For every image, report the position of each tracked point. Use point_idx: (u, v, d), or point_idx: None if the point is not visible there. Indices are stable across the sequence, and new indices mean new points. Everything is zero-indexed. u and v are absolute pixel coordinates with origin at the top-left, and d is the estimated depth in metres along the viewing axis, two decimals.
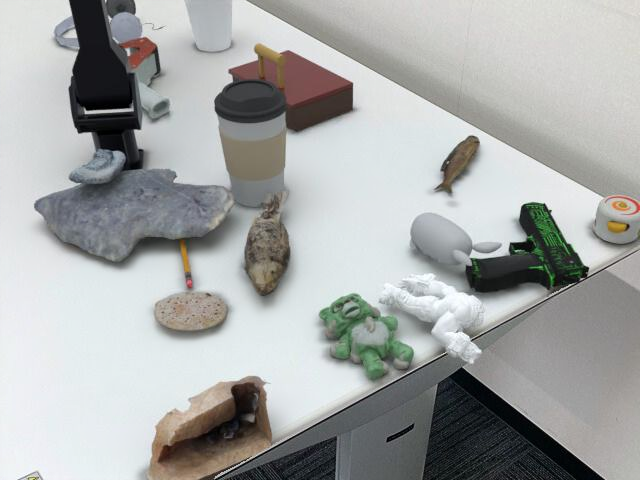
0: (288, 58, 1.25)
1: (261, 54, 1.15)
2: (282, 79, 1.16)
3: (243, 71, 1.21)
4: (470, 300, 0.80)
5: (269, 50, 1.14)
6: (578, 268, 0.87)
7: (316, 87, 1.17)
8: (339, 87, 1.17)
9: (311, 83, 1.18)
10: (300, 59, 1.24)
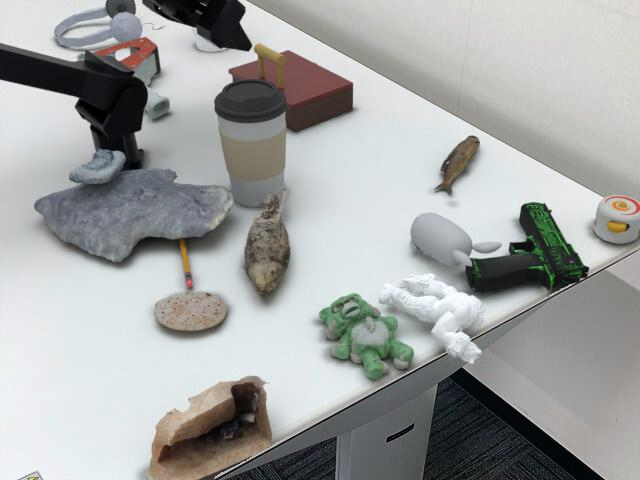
0: (288, 58, 1.25)
1: (261, 54, 1.15)
2: (282, 79, 1.16)
3: (243, 71, 1.21)
4: (470, 300, 0.80)
5: (269, 50, 1.14)
6: (578, 268, 0.87)
7: (316, 87, 1.17)
8: (339, 87, 1.17)
9: (311, 83, 1.18)
10: (300, 59, 1.24)
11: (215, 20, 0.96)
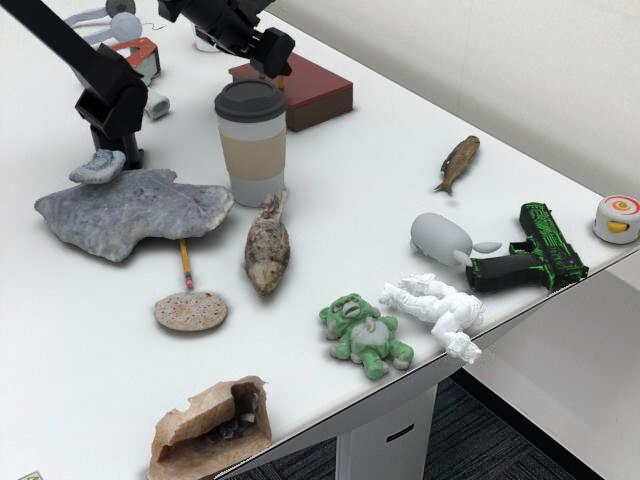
0: (288, 58, 1.25)
1: None
2: (282, 79, 1.16)
3: (243, 71, 1.21)
4: (470, 300, 0.80)
5: None
6: (578, 268, 0.87)
7: (316, 87, 1.17)
8: (339, 87, 1.17)
9: (311, 83, 1.18)
10: (300, 59, 1.24)
11: (268, 54, 1.04)
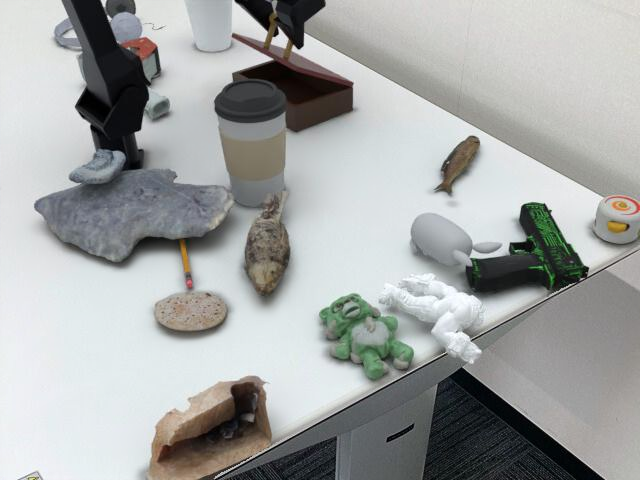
0: None
1: None
2: (290, 49, 1.14)
3: (247, 38, 1.18)
4: (470, 300, 0.80)
5: None
6: (578, 268, 0.87)
7: (319, 70, 1.15)
8: (342, 79, 1.16)
9: (314, 67, 1.16)
10: (301, 56, 1.24)
11: (299, 0, 1.03)
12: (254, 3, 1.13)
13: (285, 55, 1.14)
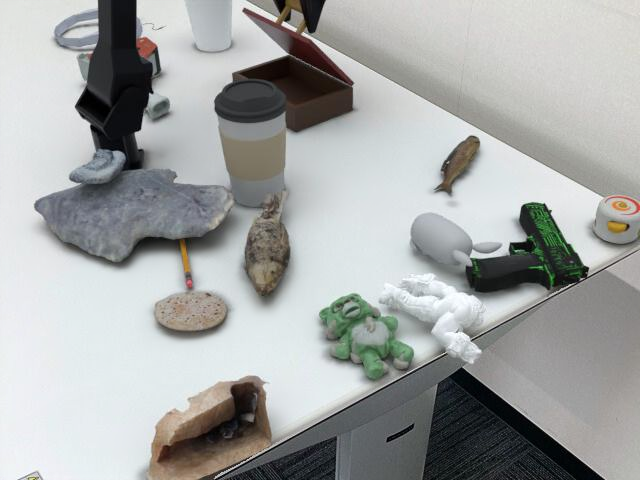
0: None
1: (293, 2, 1.14)
2: (302, 30, 1.13)
3: None
4: (470, 300, 0.80)
5: None
6: (578, 268, 0.87)
7: None
8: None
9: None
10: None
11: None
12: None
13: None
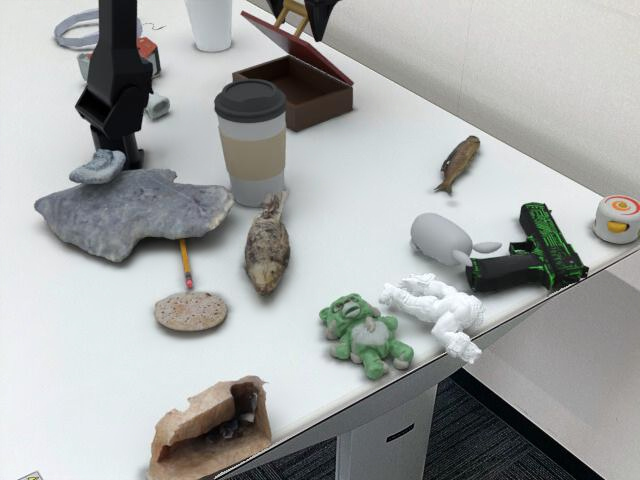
0: None
1: (291, 4, 1.14)
2: (300, 32, 1.13)
3: None
4: (470, 300, 0.80)
5: (302, 4, 1.14)
6: (578, 268, 0.87)
7: None
8: (344, 74, 1.16)
9: None
10: None
11: None
12: None
13: None
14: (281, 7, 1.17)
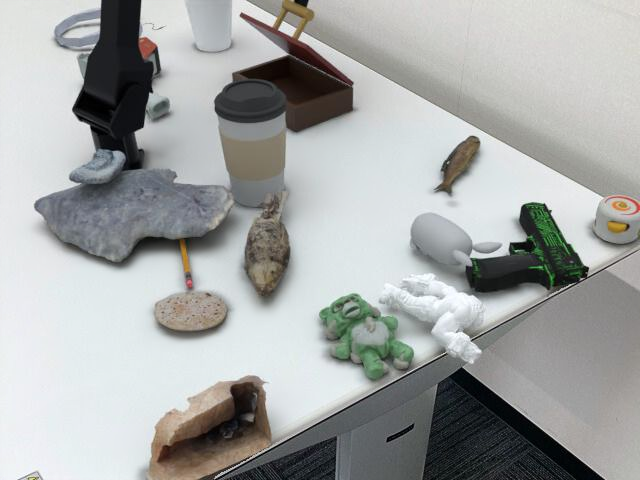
0: None
1: (289, 5, 1.14)
2: (299, 33, 1.13)
3: None
4: (470, 300, 0.80)
5: (300, 5, 1.14)
6: (578, 268, 0.87)
7: None
8: None
9: None
10: None
11: None
12: None
13: (293, 38, 1.13)
14: None
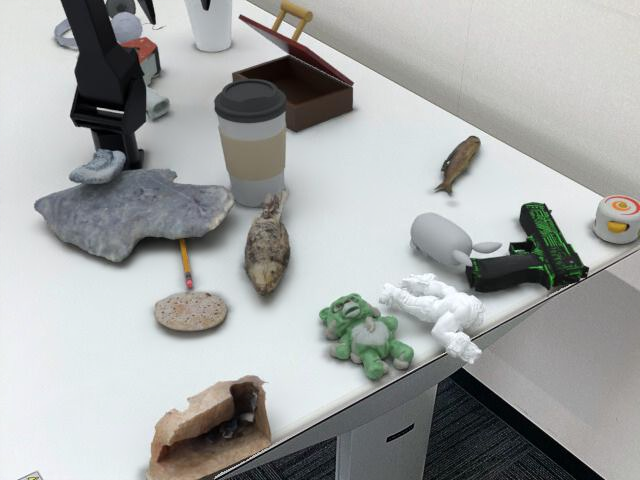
0: None
1: (288, 7, 1.14)
2: (298, 35, 1.13)
3: None
4: (470, 300, 0.80)
5: (299, 6, 1.14)
6: (578, 268, 0.87)
7: None
8: (344, 75, 1.16)
9: None
10: None
11: None
12: None
13: (292, 39, 1.13)
14: None
